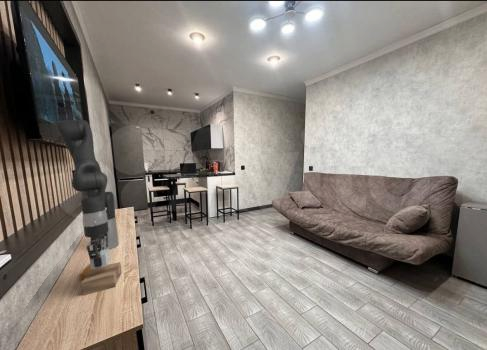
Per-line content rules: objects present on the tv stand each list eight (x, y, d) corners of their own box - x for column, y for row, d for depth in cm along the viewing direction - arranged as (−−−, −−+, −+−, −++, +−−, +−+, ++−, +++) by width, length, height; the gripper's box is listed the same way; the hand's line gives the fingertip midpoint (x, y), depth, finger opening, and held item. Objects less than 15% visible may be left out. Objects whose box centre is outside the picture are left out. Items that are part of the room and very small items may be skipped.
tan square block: (94, 279, 76) (92, 268, 75) (121, 272, 79) (120, 262, 79) (83, 295, 66) (81, 282, 66) (115, 286, 70) (113, 274, 70)
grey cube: (96, 263, 74) (94, 251, 73) (110, 259, 75) (109, 248, 75) (91, 269, 69) (89, 257, 69) (106, 266, 71) (105, 253, 70)
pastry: (97, 278, 77) (95, 269, 77) (77, 283, 74) (75, 274, 74) (103, 266, 86) (102, 259, 85) (86, 271, 83) (85, 263, 83)
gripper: (91, 219, 76) (96, 257, 77) (74, 230, 63) (81, 275, 64) (112, 216, 79) (117, 252, 80) (100, 226, 66) (106, 270, 67)
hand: (101, 262), depth 72 cm, fingers closed on grey cube, 5 cm apart
